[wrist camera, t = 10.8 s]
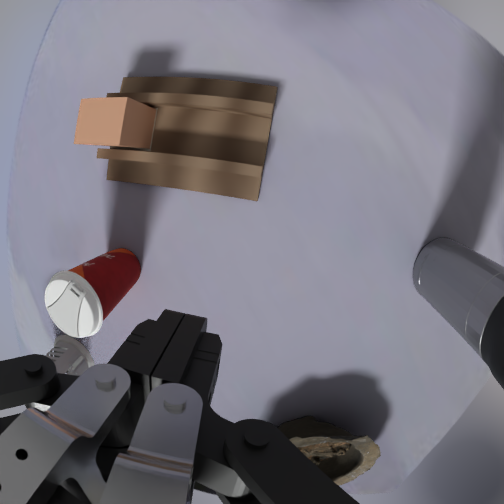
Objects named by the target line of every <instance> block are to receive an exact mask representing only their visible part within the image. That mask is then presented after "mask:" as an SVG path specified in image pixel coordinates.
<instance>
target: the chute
mask: <svg viewBox="0 0 504 504" xmlns="http://www.w3.org/2000/svg"><path fill="white" fill-rule="evenodd" d="M276 93H277V87H275V86H269V85H262V84H255V83H247V82H239V81H230V80H219V79H206V78H189V77H123V81H122V85H121V90H120V93H107V97H106V98H108V97H129V98H131V99H133V100H136V101H138V102H140V103H143V104H145V105H147V106H149V107H152V108H154V109H156V115H155V120H154V126H153V132H152V138H151V145H150V149H147V148H134V147H119V146H110V149H100V148H98V151H97V158H103V159H109V162H108V171H107V180H113V181H122V182H131V183H139V184H147V185H155V186H162V187H170V188H177V189H184V190H191V191H198V192H204V193H211V194H217V195H223V196H230V197H236V198H242V199H248V200H253V201H258V196H259V190H260V184H261V178H262V173H263V167H264V161H265V155H266V150H267V144H268V138H269V133H270V127H271V121H272V116H273V110H274V104H275V99H276Z"/></svg>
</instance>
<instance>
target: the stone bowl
mask: <svg viewBox="0 0 504 504" xmlns="http://www.w3.org/2000/svg"><path fill="white" fill-rule="evenodd" d="M278 429H279V430H280V431H281V432H282V433H283V434H284V435H285V436H286V437H287V438H288V439H289V440H290V441H291V442H292V443H293V444H294V445H295V446H296V447H297V448H298V449H299V450H300V451H301V452H302V453H303V454H304V455H305V456H306V457H307V458H309V459H310V460H311V461H312V462H313V463H314V464H315V465H316V466H317V467H318V468H319V469H320V470H321V471H322V472H324V473H325V474H326V475H327V476H328V477H329V478H330V479H331V480H332V481H334V482H335V483H336V484H337V485H338V486H339V485H342V484H345V483H347V482H350V481H352V480H354V479H355V478H357V476H359V475H361V474H364V473H365V472H366V471H368V470H370V468H371V467H372V466H373V465H374V464H375V461H376V460H377V458H378V457H380V448H379V446H378V445H377V444H375V443H374V441H372V440H371V438H368V435H365V436H353V435H352V434H350V433H349V432H348V431H345V430H344V429H342V428H338V427H336V426H334V425H332V424H330V423H327V422H317V420H316V419H315V418H314V417H313V416H307V417H303V418H301V419H295V420H293V421H290V422H286V423H283V424H281V425H280V426H279V427H278Z"/></svg>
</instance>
